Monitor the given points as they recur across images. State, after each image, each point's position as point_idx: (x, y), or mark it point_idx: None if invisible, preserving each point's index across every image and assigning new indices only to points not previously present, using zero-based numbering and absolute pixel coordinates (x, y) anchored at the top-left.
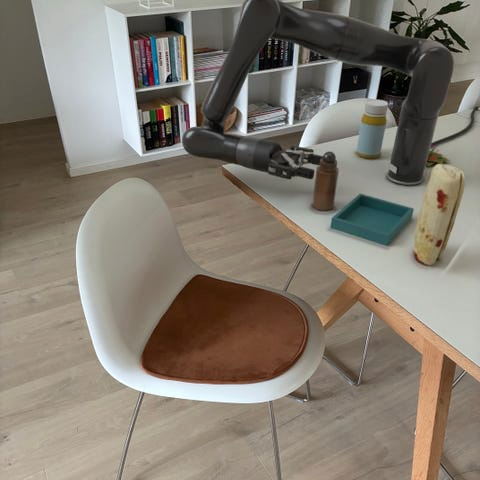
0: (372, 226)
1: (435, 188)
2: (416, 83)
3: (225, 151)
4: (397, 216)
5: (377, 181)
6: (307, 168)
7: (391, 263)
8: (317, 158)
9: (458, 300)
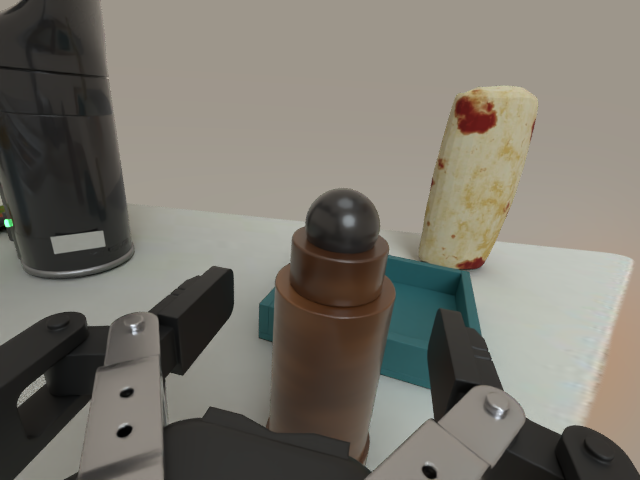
0: (393, 309)
1: (530, 122)
2: None
3: None
4: None
5: (77, 297)
6: (454, 331)
7: (511, 295)
8: (201, 309)
9: (528, 251)
